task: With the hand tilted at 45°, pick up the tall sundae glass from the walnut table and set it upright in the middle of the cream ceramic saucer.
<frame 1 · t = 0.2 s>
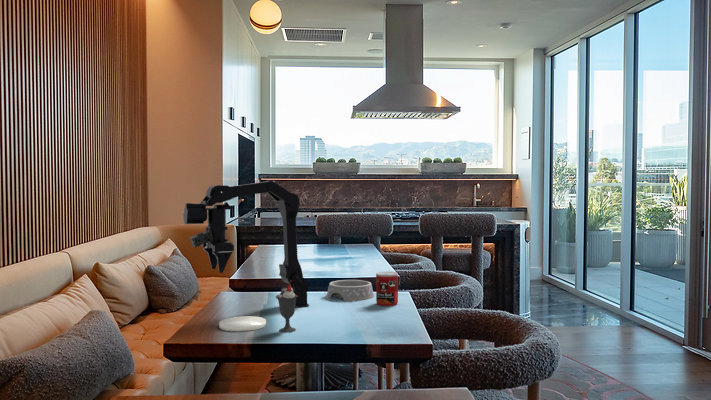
hand: (217, 270, 188), 15 cm above the table, tool pointing down, fingers open, 9 cm apart
dog bowl: (350, 297, 218), on the table
sundae: (287, 330, 168), on the table
canned food: (387, 304, 204), on the table
saucer: (242, 325, 175), on the table
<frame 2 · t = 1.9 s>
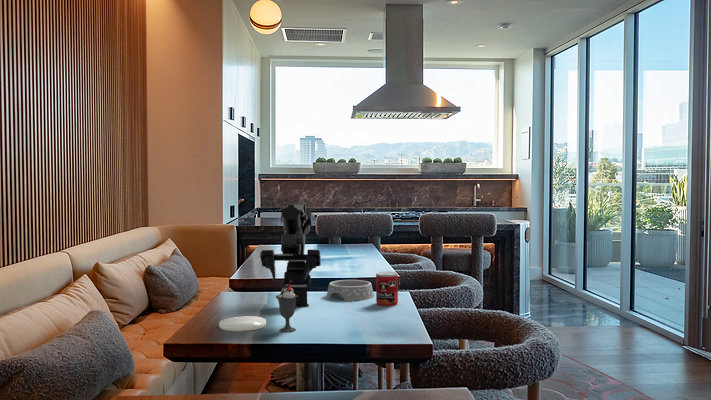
hand: (288, 280, 176), 13 cm above the table, tool tilted 45°, fingers open, 9 cm apart
nothing on the table moved.
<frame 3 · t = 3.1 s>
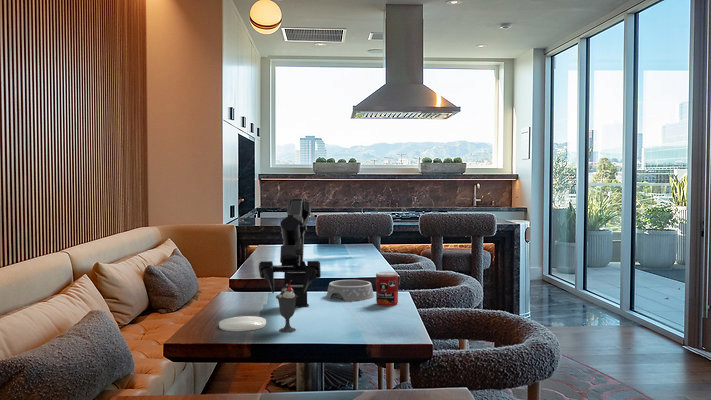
hand: (288, 292, 171), 11 cm above the table, tool tilted 45°, fingers open, 9 cm apart
nothing on the table moved.
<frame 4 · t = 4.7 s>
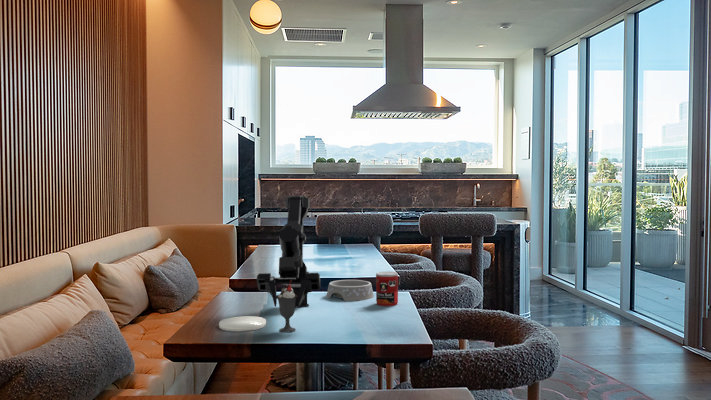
hand: (286, 305, 167), 8 cm above the table, tool tilted 45°, fingers closed on sundae, 6 cm apart
sundae: (287, 330, 168), on the table, touching gripper
everything else where it was.
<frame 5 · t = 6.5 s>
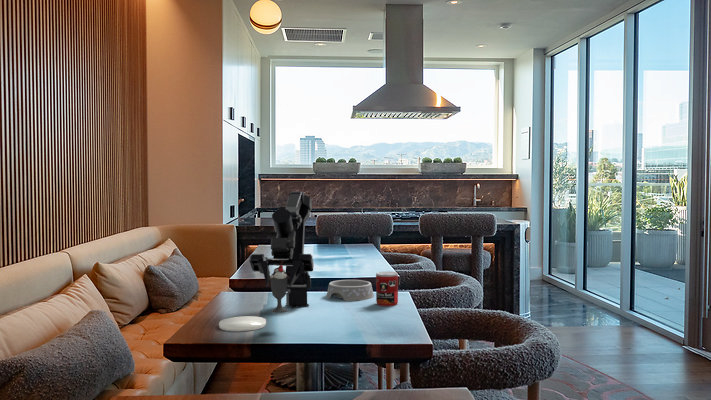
hand: (278, 286, 167), 13 cm above the table, tool tilted 45°, fingers closed on sundae, 6 cm apart
sundae: (279, 311, 169), point 5 cm above the table, touching gripper
everything else where it was.
when the fingers open (10 cm above the table, at t = 8.7 s): sundae drops 1 cm, resting on saucer.
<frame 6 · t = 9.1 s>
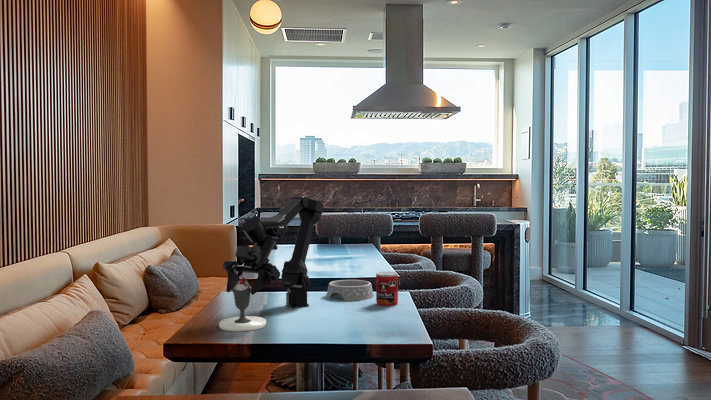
hand: (239, 292, 173), 10 cm above the table, tool tilted 45°, fingers open, 9 cm apart
sundae: (242, 322, 175), point 1 cm above the table, touching saucer
everything else where it was.
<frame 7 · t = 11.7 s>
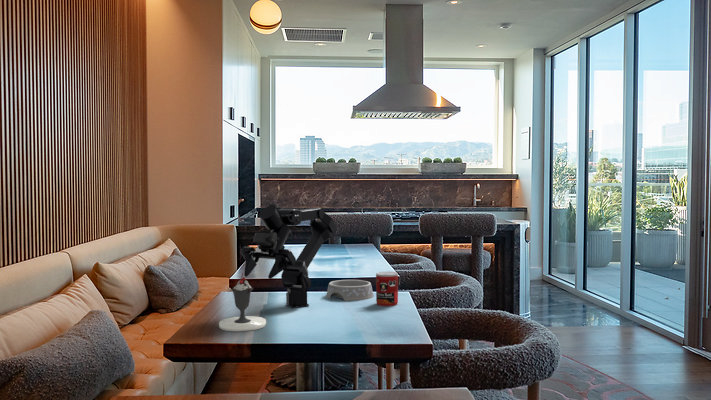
hand: (257, 277, 181), 14 cm above the table, tool tilted 45°, fingers open, 9 cm apart
nothing on the table moved.
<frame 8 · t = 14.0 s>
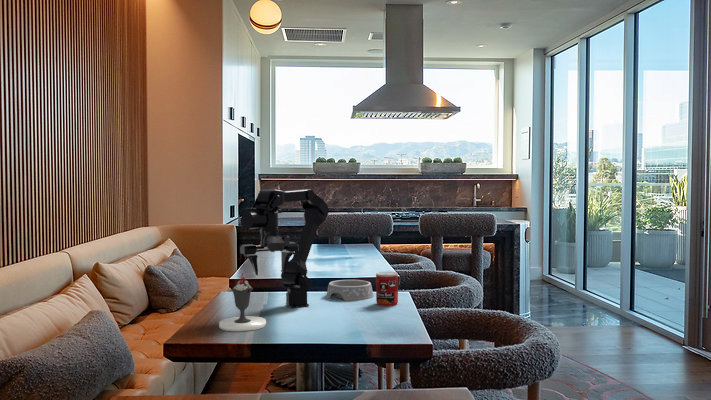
hand: (270, 274, 191), 13 cm above the table, tool pointing down, fingers open, 9 cm apart
nothing on the table moved.
at the end: sundae inside the target area on the saucer (0.2 cm from its centre), point 1.0 cm above the saucer's base; sundae tilted 0°; the gripper is holding nothing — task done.
